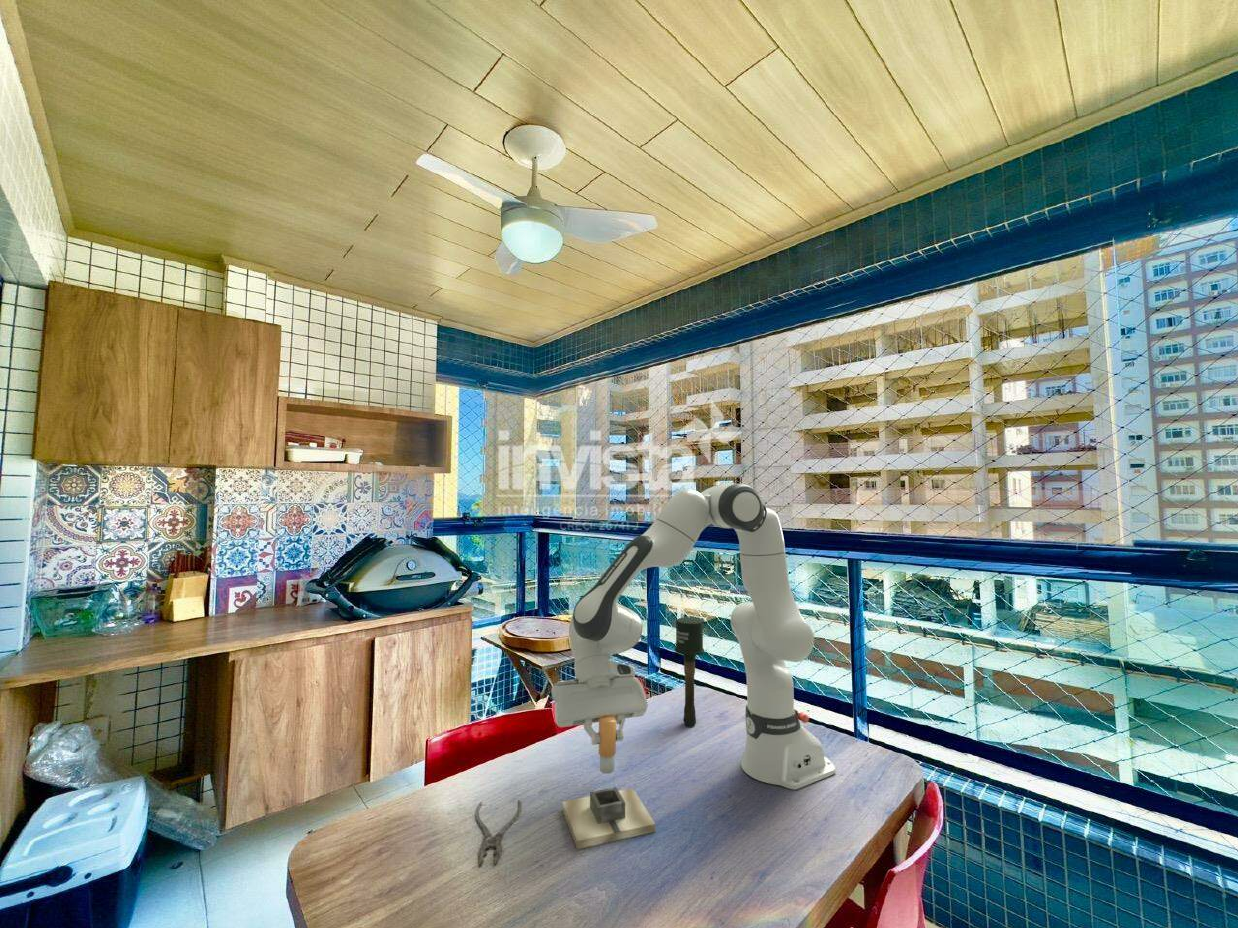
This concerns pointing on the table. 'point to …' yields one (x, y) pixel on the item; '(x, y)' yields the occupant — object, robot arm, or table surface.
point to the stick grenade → (689, 659)
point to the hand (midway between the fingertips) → (608, 741)
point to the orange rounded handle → (607, 743)
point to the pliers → (493, 837)
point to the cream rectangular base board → (606, 817)
